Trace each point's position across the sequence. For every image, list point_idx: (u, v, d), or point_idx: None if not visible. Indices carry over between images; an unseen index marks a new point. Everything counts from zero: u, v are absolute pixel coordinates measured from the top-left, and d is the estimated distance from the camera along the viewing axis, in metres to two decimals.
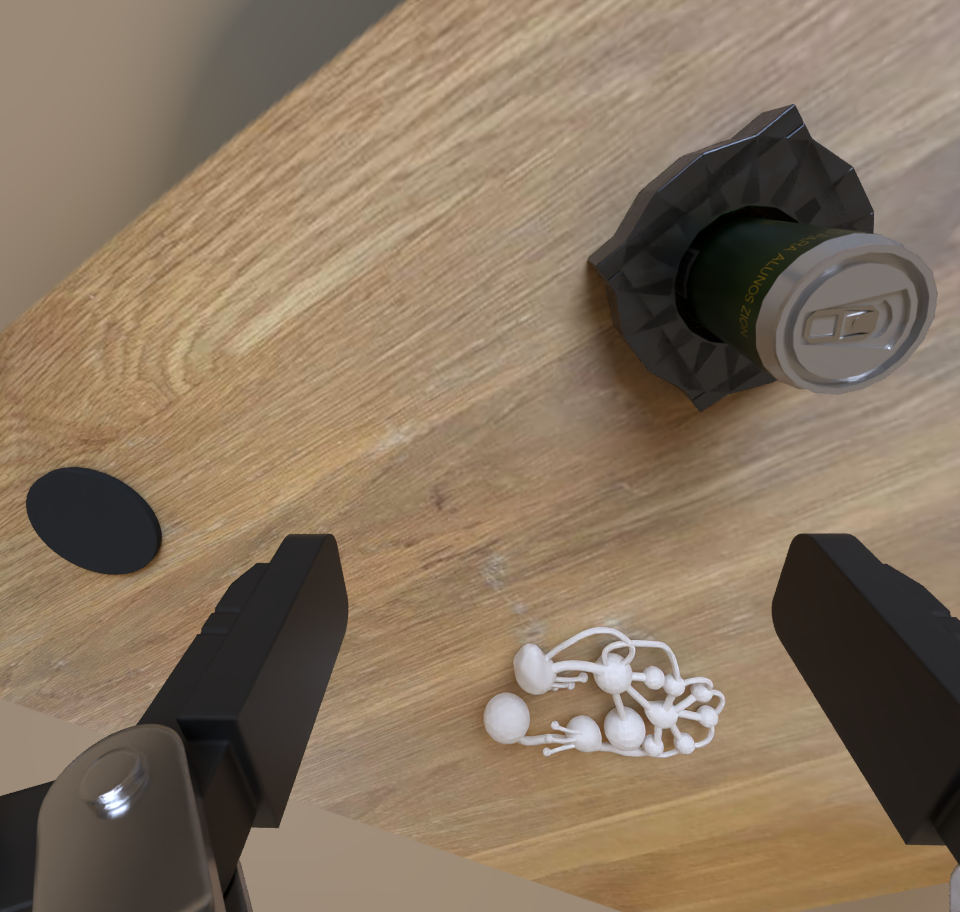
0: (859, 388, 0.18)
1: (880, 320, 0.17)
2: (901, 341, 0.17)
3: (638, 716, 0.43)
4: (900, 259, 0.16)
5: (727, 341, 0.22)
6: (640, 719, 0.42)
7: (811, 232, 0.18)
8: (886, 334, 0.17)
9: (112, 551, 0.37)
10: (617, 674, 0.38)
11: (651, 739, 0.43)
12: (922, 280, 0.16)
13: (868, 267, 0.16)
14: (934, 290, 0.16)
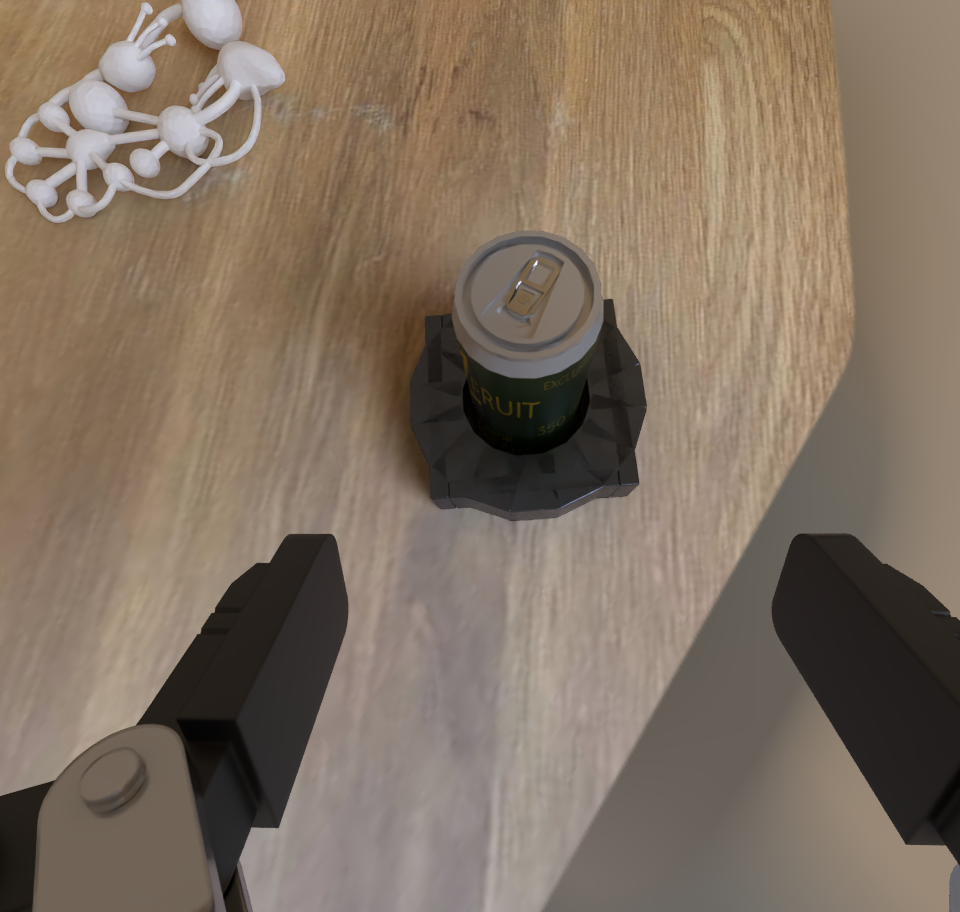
0: (458, 279, 0.17)
1: (509, 321, 0.17)
2: (483, 321, 0.17)
3: (103, 130, 0.35)
4: None
5: None
6: (99, 126, 0.35)
7: (593, 352, 0.19)
8: (495, 318, 0.17)
9: None
10: (184, 127, 0.33)
11: (64, 119, 0.34)
12: None
13: (573, 315, 0.17)
14: (514, 359, 0.17)
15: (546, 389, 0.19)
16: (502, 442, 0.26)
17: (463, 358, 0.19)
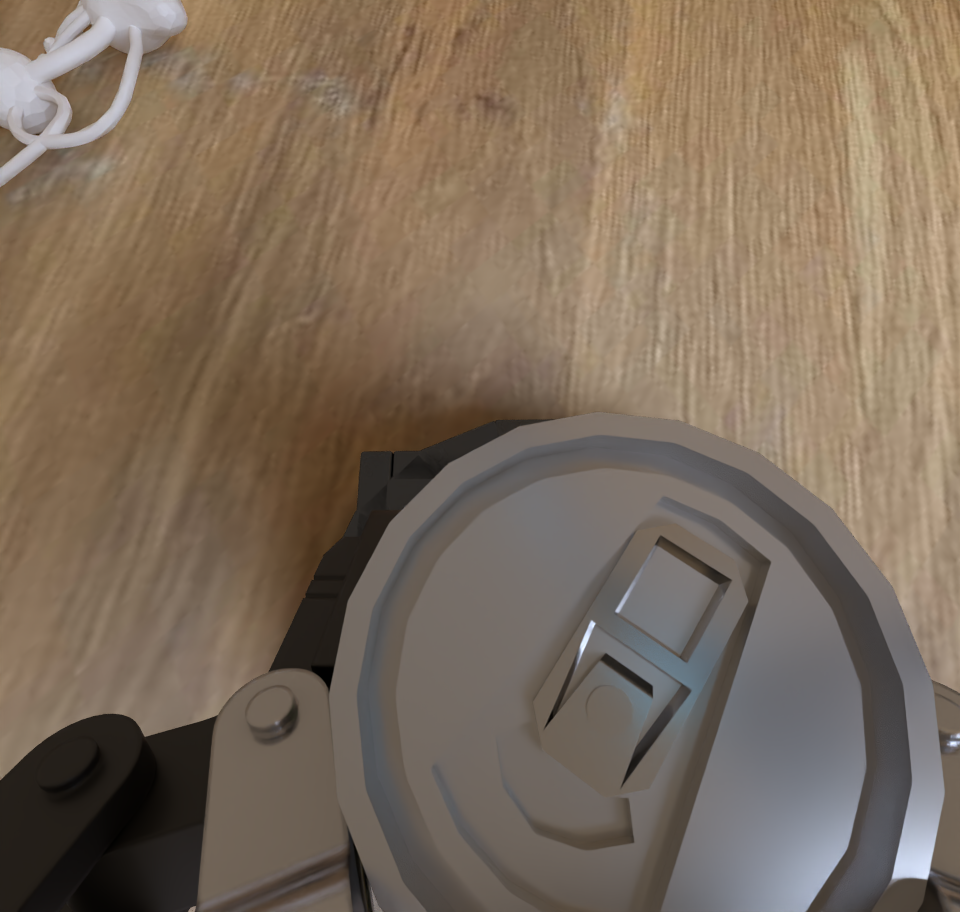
0: (357, 595, 0.05)
1: (547, 789, 0.04)
2: (436, 820, 0.04)
3: None
4: None
5: None
6: None
7: None
8: (489, 784, 0.04)
9: None
10: (5, 81, 0.20)
11: None
12: None
13: (827, 840, 0.04)
14: None
15: None
16: None
17: None
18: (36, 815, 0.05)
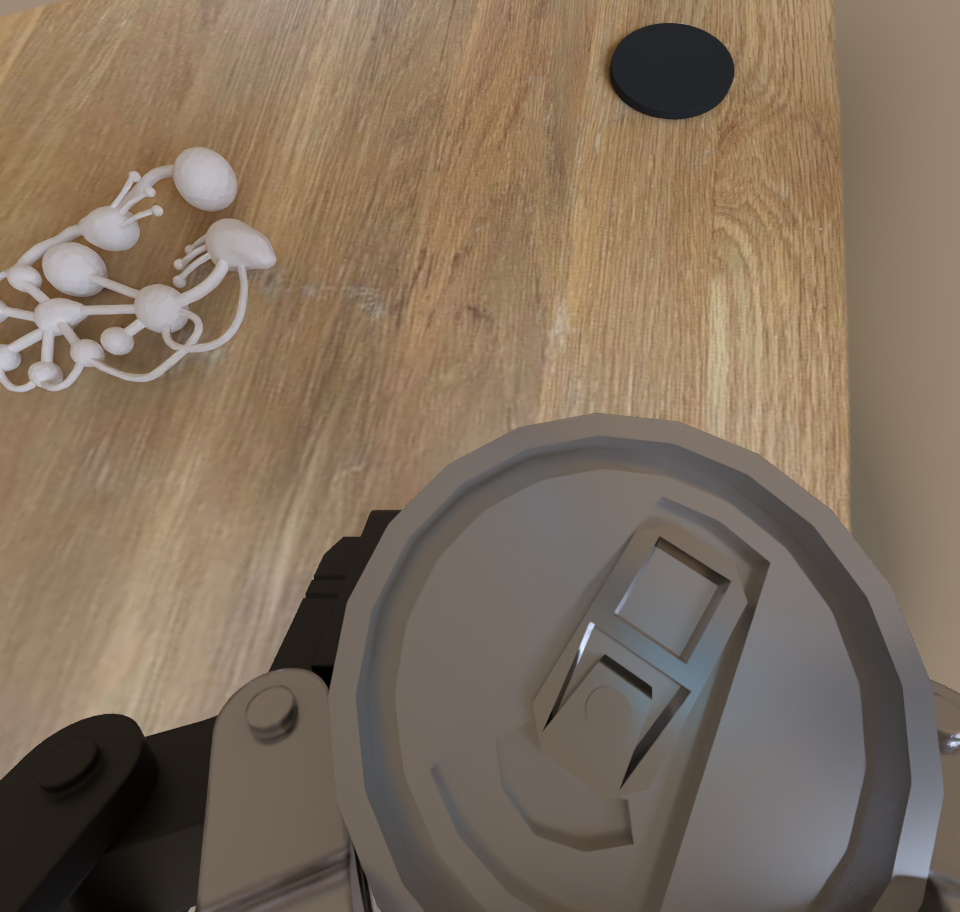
0: (356, 596, 0.05)
1: (546, 790, 0.04)
2: (435, 821, 0.04)
3: (77, 293, 0.33)
4: None
5: None
6: (72, 291, 0.33)
7: None
8: (488, 786, 0.04)
9: (641, 57, 0.38)
10: (162, 310, 0.31)
11: (35, 282, 0.32)
12: None
13: (827, 841, 0.04)
14: None
15: None
16: None
17: None
18: (36, 815, 0.05)
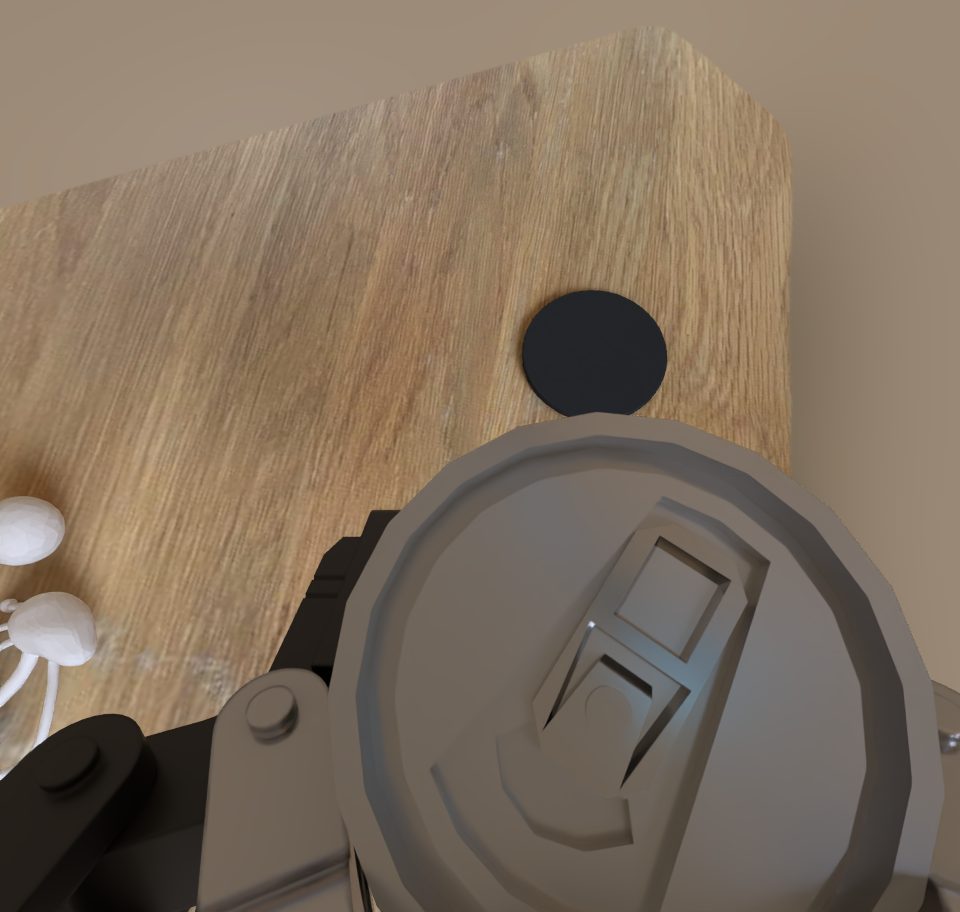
0: (356, 596, 0.04)
1: (546, 789, 0.04)
2: (434, 821, 0.04)
3: None
4: None
5: None
6: None
7: None
8: (489, 785, 0.04)
9: (559, 338, 0.32)
10: None
11: None
12: None
13: (827, 840, 0.04)
14: None
15: None
16: None
17: None
18: (37, 814, 0.05)
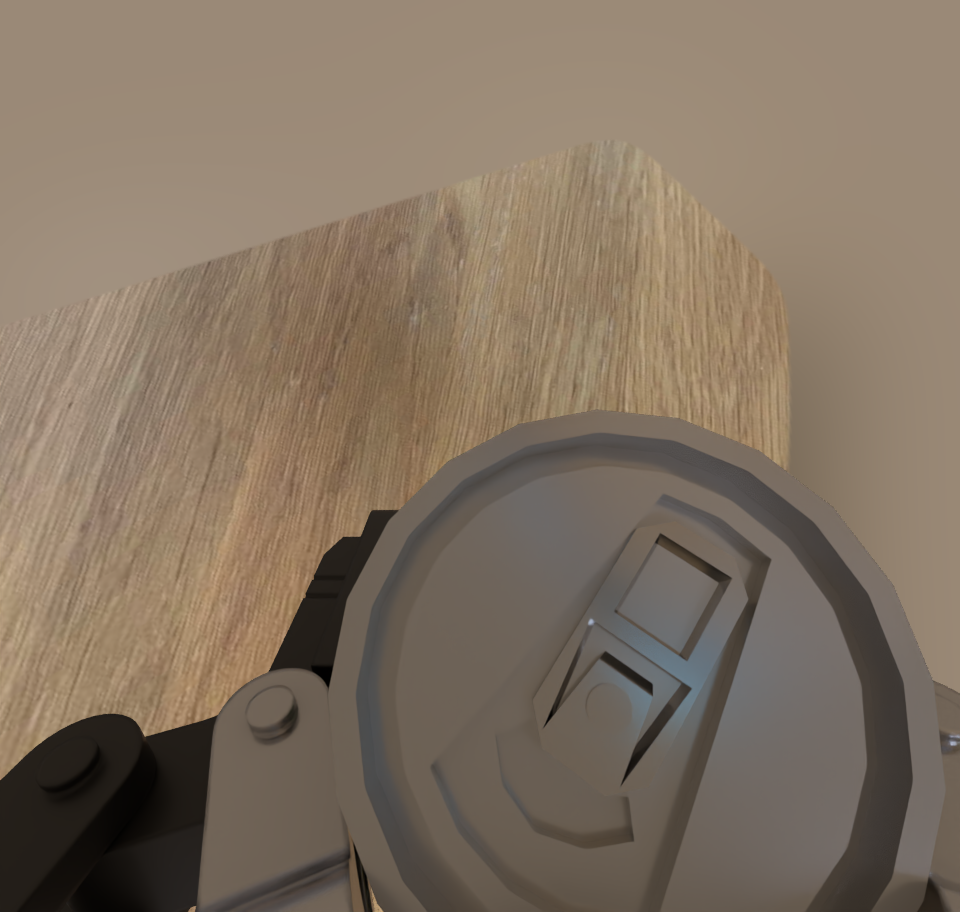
0: (356, 593, 0.04)
1: (546, 787, 0.04)
2: (435, 818, 0.04)
3: None
4: None
5: None
6: None
7: None
8: (488, 783, 0.04)
9: None
10: None
11: None
12: None
13: (828, 837, 0.04)
14: None
15: None
16: None
17: None
18: (36, 815, 0.05)
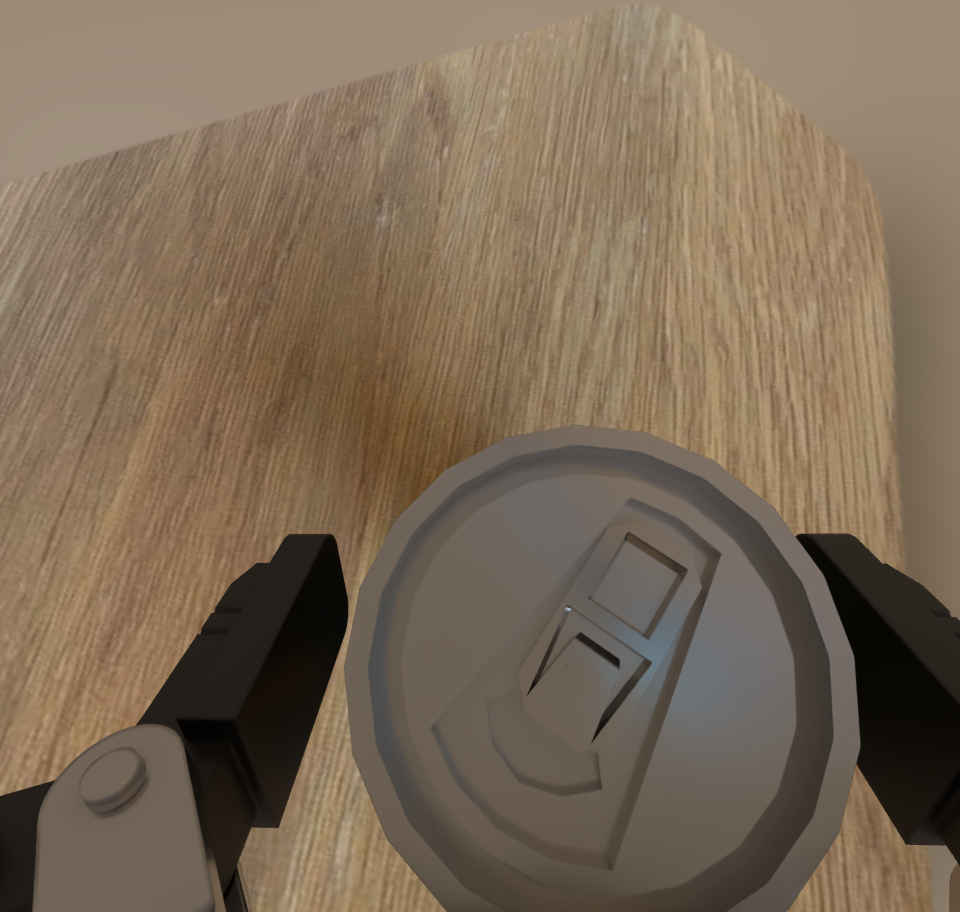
0: (368, 583, 0.05)
1: (529, 746, 0.05)
2: (435, 770, 0.05)
3: None
4: (695, 895, 0.05)
5: None
6: None
7: None
8: (481, 742, 0.05)
9: None
10: None
11: None
12: None
13: (762, 784, 0.05)
14: None
15: None
16: None
17: None
18: None
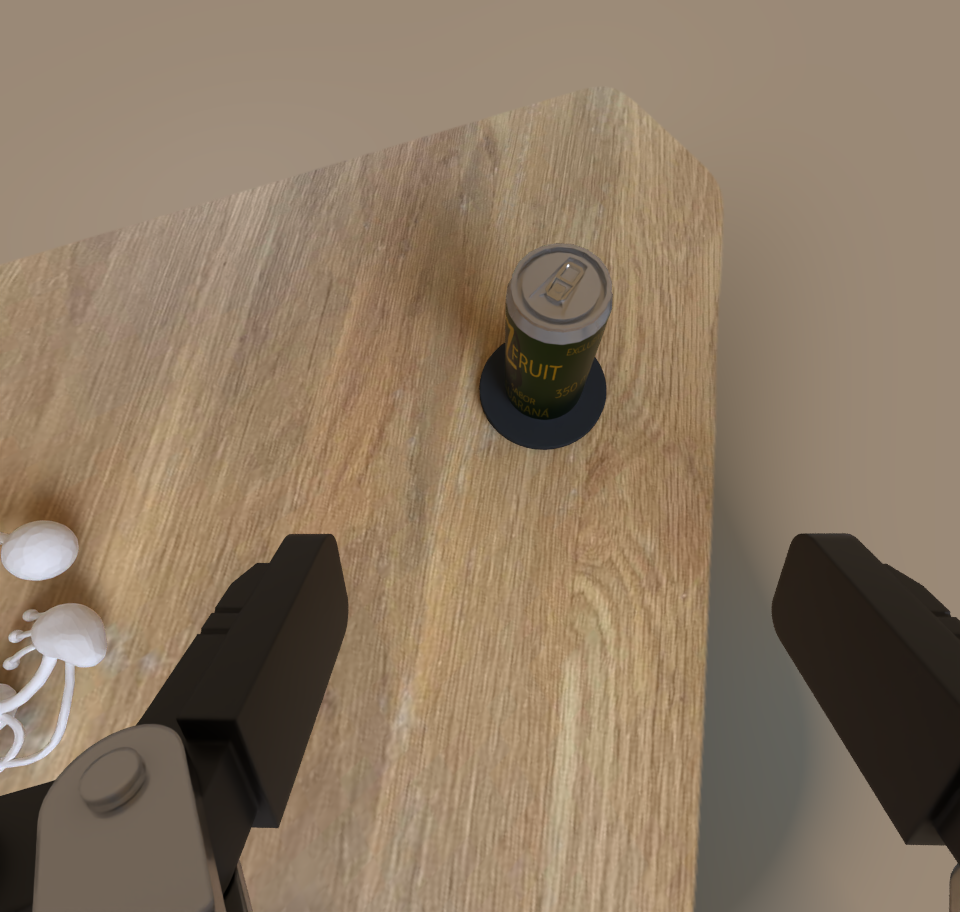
0: (514, 273, 0.25)
1: (547, 304, 0.25)
2: (530, 302, 0.25)
3: None
4: None
5: None
6: None
7: (602, 333, 0.27)
8: (538, 301, 0.25)
9: None
10: None
11: None
12: None
13: (592, 302, 0.25)
14: (550, 329, 0.24)
15: (568, 355, 0.26)
16: (526, 404, 0.33)
17: (510, 330, 0.27)
18: None
